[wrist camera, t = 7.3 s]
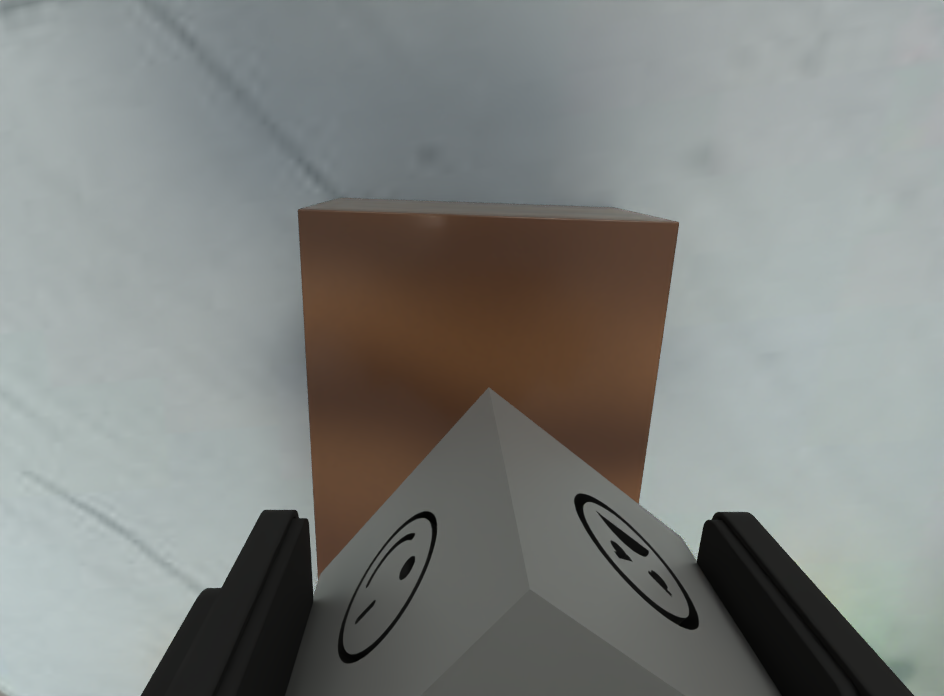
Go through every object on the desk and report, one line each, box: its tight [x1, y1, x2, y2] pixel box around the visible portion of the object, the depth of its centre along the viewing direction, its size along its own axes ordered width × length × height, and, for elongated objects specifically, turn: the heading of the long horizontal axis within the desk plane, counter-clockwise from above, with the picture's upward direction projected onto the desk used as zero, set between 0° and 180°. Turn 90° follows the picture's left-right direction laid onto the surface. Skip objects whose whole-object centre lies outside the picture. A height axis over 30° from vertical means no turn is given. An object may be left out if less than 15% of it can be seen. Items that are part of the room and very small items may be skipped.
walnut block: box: [298, 198, 679, 580], centre depth 19 cm, size 12×10×6 cm
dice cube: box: [285, 387, 782, 696], centre depth 9 cm, size 5×5×5 cm
